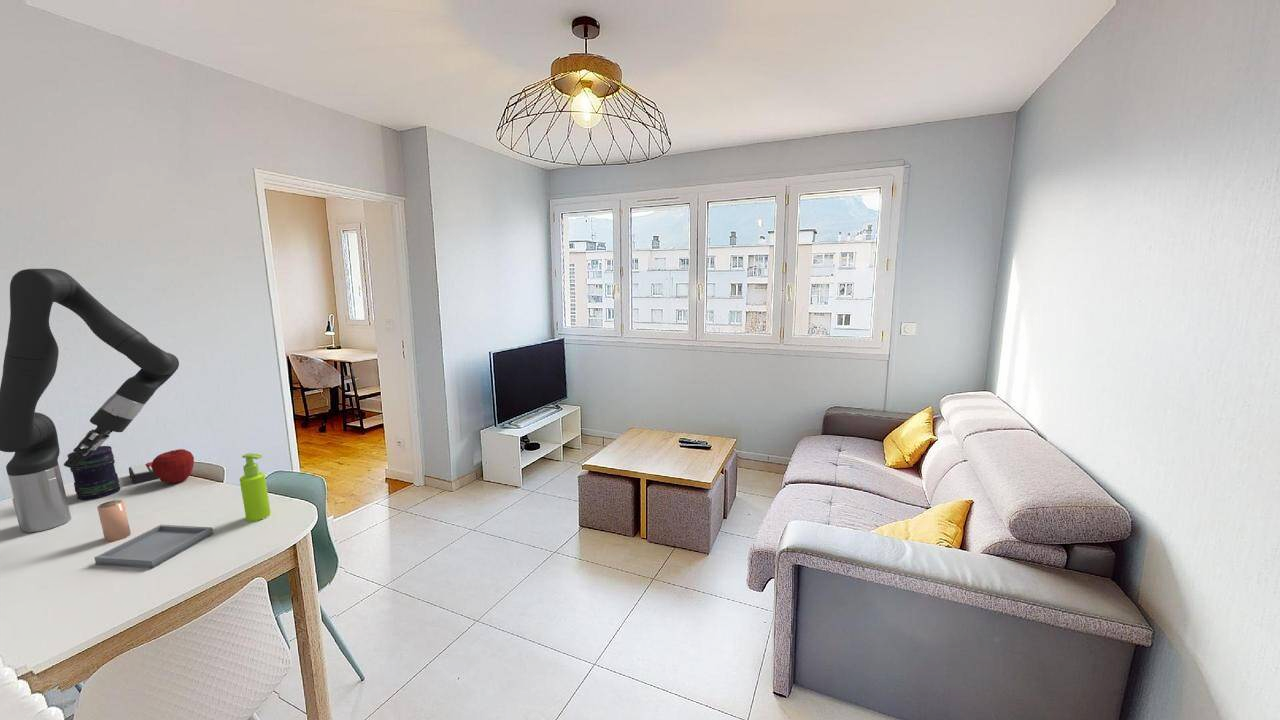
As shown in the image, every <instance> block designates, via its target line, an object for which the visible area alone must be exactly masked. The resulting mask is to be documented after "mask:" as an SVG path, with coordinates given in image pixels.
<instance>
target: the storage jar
mask: <svg viewBox="0 0 1280 720" xmlns="http://www.w3.org/2000/svg"><path fill="white" fill-rule="evenodd" d="M112 450H113V448H112V446H111V445H101V446H100V447H98V448H97V449H96V450H95V451H93V450H92V451H93V452H92V453H91V454H90V455H89V457H88V458H87V459H86V460H85V461H84V462H82V463H80V462H79V463H78V464H77V465H76V466H75V467H74V468H69V470H70V473H72V476H73V480H74V482H73V486H74V491H75V493H76V496H77V497H76V498H77V500H78V501H92V500H93V501H94V500H98V499H102V498H106V497H109V496H112V495H114V494H116V493H118V492H119V491H121V487H120V480H119V476H118V473H117V472H116V469H115V468H116V467H115V461H116V460H115V457H114V454H113V451H112ZM73 453H74V451H72V452H69V453H68V454H67V455H66V456H67V459H69V457H70V456H71V455H72V454H73Z"/></svg>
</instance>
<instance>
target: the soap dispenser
mask: <svg viewBox="0 0 1280 720" xmlns="http://www.w3.org/2000/svg"><path fill="white" fill-rule="evenodd" d="M263 456H264V455H262V454H259V453H253V452H252V453H249V452H248V453H245V454H244V455H241V458H243V459H245V462H246V463H245V465H243V466H242V467H243V475H242V476H241V477H240V478H239V485H240V491H241V496H242V502H243V508H244V514H245V520H246V522H249V521H255V522H258V521H257V520H260V519H263V518H265V519H267V518H268V517H267V516H269V515H270V513H271V507H270V501H269V495H268V487H267V480H266V474H265V473H264V472H261V471H259V464H258V463H256V462H254V460H259V459H261V458H263ZM270 516H271V515H270ZM270 516H269V517H270ZM266 517H267V518H266ZM263 520H264V519H263ZM260 521H261V520H260Z"/></svg>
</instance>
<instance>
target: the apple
mask: <svg viewBox="0 0 1280 720" xmlns="http://www.w3.org/2000/svg"><path fill="white" fill-rule="evenodd" d="M151 462H152V466H151V467H152V470H153V472H154V474H155V475H156V476H157V477H158V479H159V480H160V481H161V482H162V483H167V484H178V483H182V482H184V481H185V480H187V479H188V478H189V477H190V476H191V474H192V471H193V468H194V463H195V457H194V455H193V453H192V451H191V452H190V451H189V450H186V449H183V448H179V449H174V450H169V451H167V452H163V453H160V454H158V455H157V456H155V458H153V459H152V461H151Z"/></svg>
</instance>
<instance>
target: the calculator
mask: <svg viewBox="0 0 1280 720" xmlns="http://www.w3.org/2000/svg"><path fill="white" fill-rule="evenodd" d="M152 462H153V461H150V462H147V463H142V464H137V465H131V466H129V467H128V472H129V473H128V474H130V475H129V479H130V480H131V482H132V484H133V485H139V484H142V483H143V484H144V483H147V482H151V481H153V480H158V479H159V478H158V477H157V476H156V475H155V474H154V472H153V470H152V467H151V466H152Z"/></svg>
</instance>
